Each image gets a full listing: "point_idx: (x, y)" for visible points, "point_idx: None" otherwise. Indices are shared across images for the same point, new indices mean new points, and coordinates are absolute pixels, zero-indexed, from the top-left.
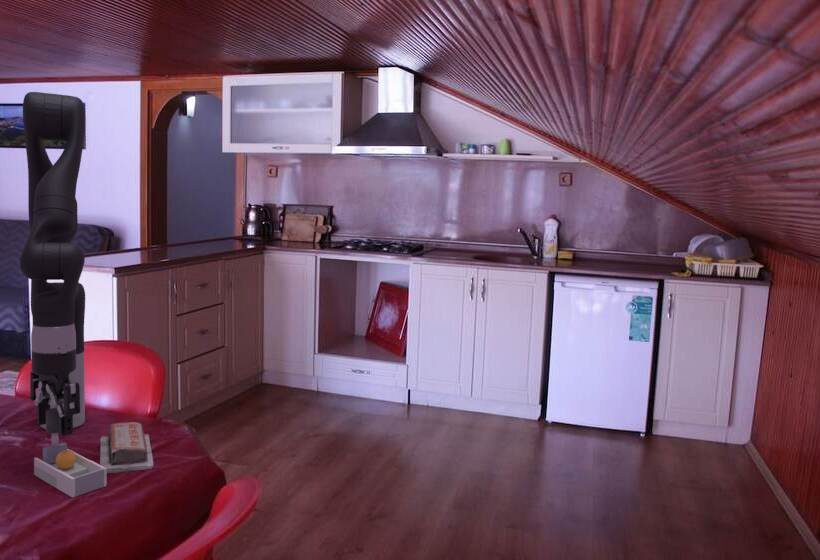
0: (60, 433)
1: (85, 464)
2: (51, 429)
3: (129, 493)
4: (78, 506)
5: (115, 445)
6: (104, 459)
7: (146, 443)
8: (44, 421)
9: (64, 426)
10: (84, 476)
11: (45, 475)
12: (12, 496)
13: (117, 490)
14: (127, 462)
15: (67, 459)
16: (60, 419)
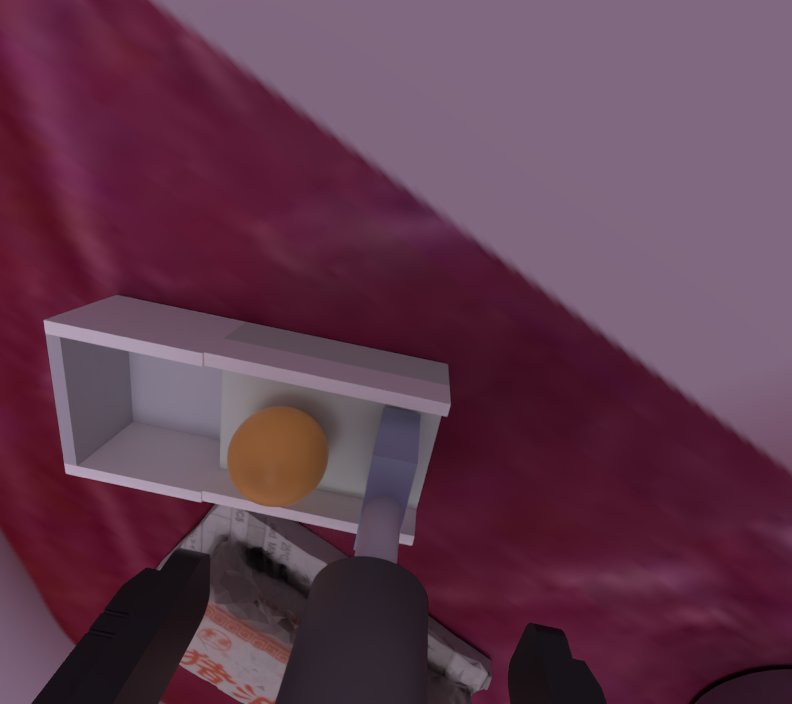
0: (181, 559)
1: None
2: (328, 587)
3: (14, 420)
4: (25, 253)
5: (225, 629)
6: (294, 558)
7: None
8: (522, 665)
9: (103, 627)
10: (57, 376)
11: (338, 353)
12: (326, 162)
13: None
14: None
15: (229, 444)
16: (83, 698)
